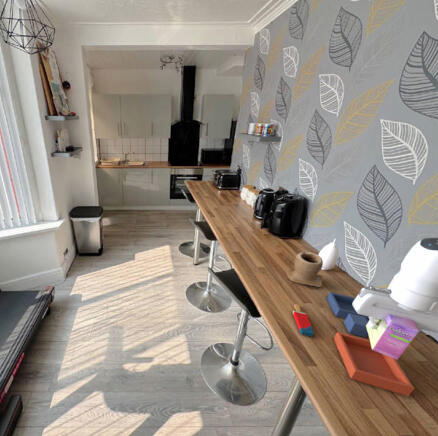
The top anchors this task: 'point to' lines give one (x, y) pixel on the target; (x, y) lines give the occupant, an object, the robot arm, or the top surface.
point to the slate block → (356, 325)
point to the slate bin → (343, 305)
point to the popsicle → (302, 322)
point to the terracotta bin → (371, 365)
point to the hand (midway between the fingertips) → (387, 331)
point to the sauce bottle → (329, 256)
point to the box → (392, 335)
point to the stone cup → (307, 269)
